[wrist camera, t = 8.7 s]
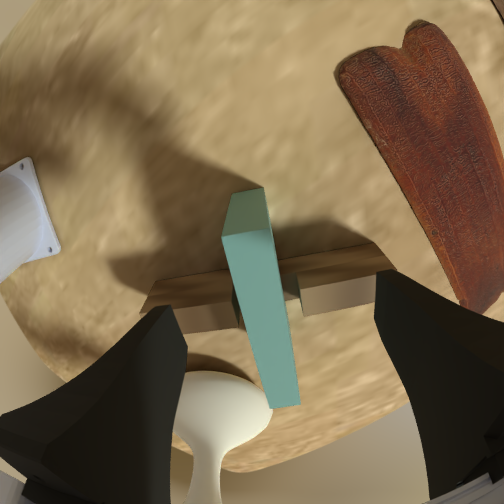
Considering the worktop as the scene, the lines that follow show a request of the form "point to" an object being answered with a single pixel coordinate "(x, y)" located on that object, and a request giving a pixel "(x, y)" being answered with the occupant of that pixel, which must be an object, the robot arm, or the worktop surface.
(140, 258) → the worktop surface
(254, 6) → the worktop surface
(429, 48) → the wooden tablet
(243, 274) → the teal arch block
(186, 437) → the flower in vase
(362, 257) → the brown wooden bar
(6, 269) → the robot arm
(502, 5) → the wooden fragment
